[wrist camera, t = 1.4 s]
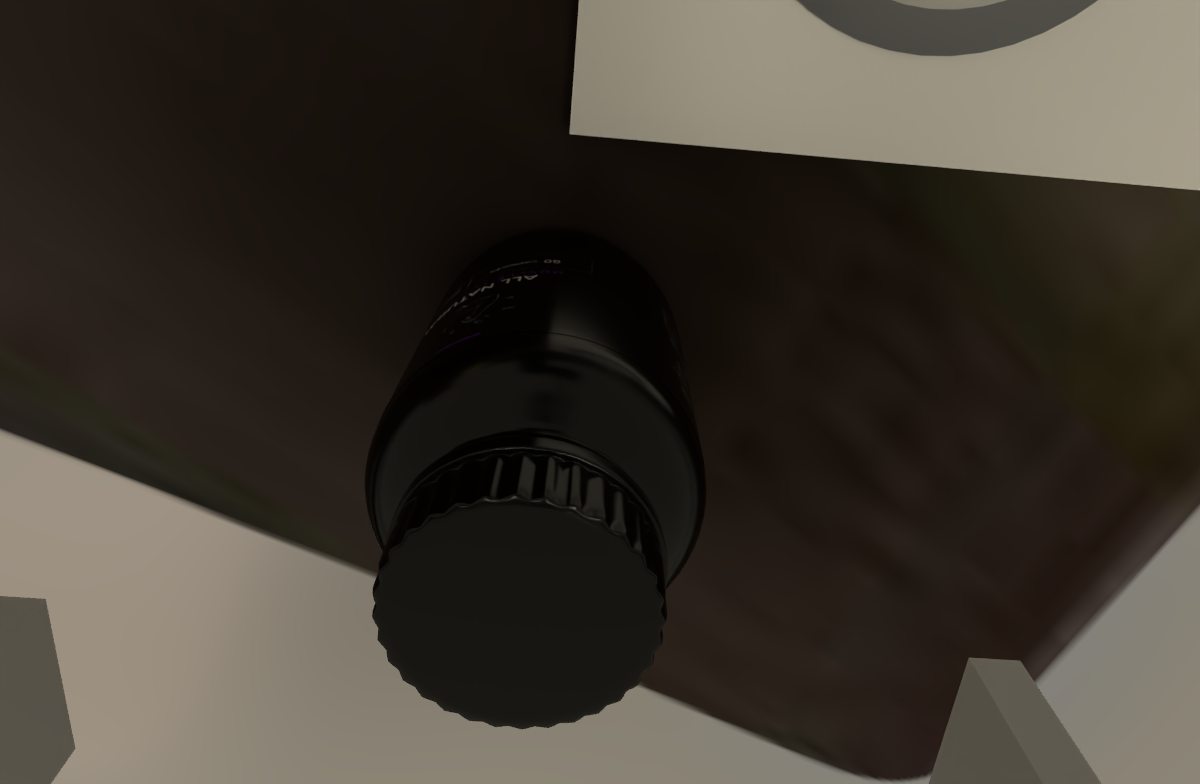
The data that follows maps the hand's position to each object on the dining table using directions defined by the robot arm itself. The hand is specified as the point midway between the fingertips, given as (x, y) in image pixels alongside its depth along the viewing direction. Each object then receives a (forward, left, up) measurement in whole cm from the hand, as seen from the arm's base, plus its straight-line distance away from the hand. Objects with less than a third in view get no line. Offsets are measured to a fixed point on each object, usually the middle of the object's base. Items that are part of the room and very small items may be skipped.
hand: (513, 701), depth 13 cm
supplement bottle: (0, 0, -14) cm, 14 cm away
